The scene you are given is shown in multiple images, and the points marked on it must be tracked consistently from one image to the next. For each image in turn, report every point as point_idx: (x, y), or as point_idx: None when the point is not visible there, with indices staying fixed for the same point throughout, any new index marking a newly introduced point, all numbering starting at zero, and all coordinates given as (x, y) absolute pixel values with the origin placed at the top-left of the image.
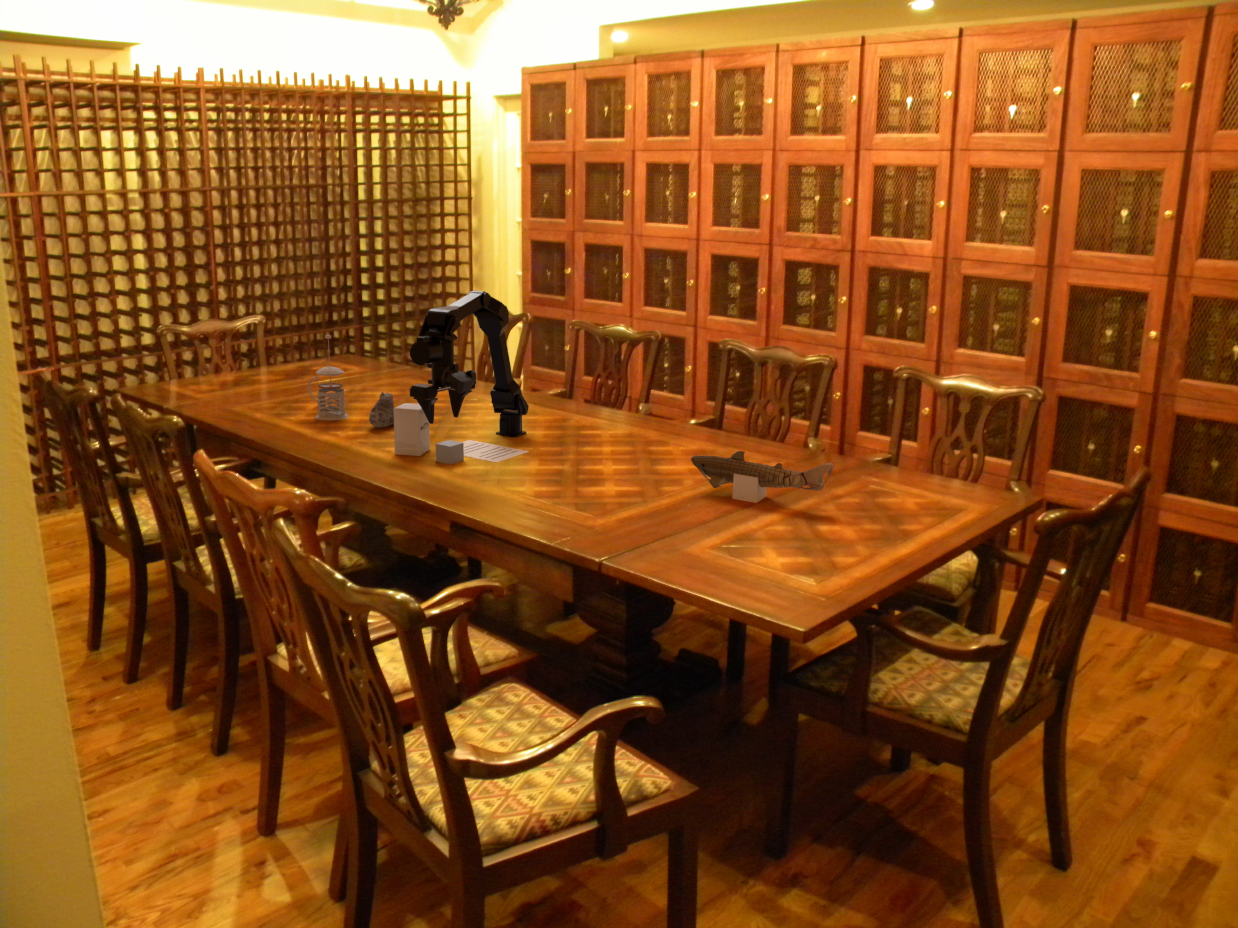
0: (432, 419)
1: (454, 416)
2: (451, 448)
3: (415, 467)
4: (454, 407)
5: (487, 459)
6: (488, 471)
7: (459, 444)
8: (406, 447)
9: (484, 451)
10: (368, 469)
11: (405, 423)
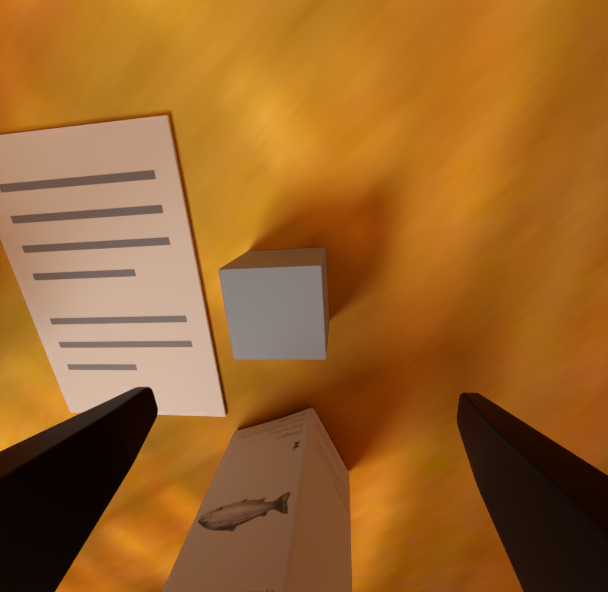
0: (511, 416)
1: (153, 411)
2: (314, 263)
3: (436, 328)
4: (88, 483)
5: (169, 184)
6: (290, 23)
7: (249, 268)
8: (333, 465)
9: (108, 280)
10: (553, 430)
11: (329, 576)
